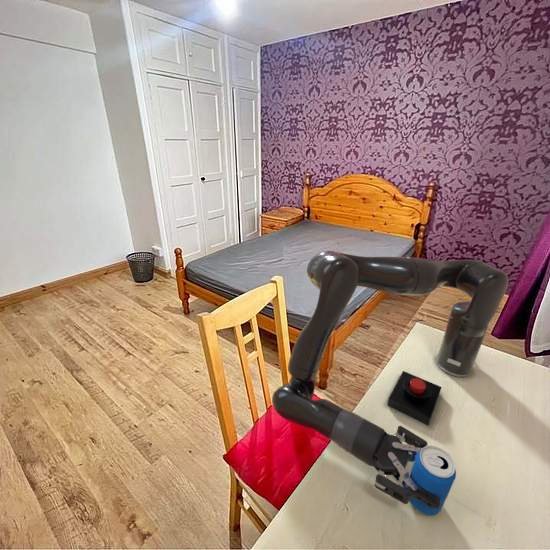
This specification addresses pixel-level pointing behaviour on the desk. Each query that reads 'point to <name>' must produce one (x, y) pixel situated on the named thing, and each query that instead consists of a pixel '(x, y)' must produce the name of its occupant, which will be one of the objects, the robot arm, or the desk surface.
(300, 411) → the robot arm
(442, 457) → the beverage can
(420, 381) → the plunger
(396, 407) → the button housing
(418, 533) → the desk surface
